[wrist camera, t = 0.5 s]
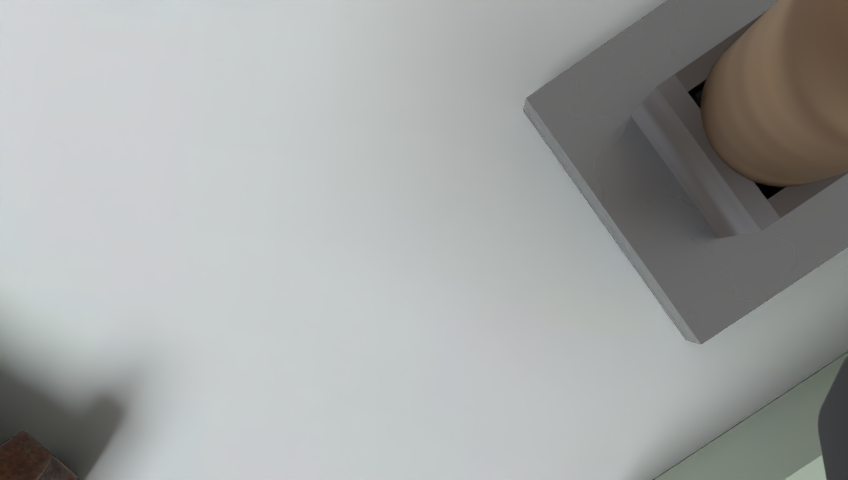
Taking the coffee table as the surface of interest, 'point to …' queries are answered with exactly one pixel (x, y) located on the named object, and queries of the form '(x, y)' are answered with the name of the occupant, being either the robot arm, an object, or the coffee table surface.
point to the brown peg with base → (758, 116)
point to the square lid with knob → (657, 186)
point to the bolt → (30, 461)
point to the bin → (768, 440)
